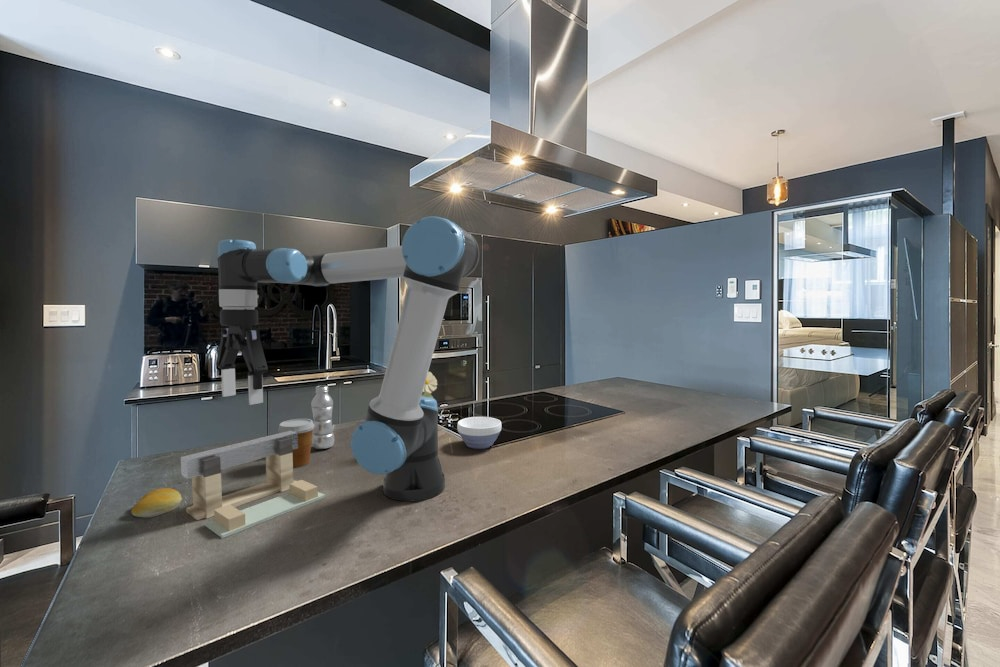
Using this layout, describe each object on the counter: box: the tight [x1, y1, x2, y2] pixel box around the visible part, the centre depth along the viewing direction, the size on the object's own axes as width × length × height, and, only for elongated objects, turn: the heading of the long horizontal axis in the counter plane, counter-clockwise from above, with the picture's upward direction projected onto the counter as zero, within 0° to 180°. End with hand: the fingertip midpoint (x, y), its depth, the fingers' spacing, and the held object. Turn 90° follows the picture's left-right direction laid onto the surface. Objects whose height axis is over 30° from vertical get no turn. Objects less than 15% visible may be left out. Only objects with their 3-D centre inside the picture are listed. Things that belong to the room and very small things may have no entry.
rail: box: [180, 431, 298, 480], centre depth 100 cm, size 4×24×4 cm, turn 145°
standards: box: [186, 433, 297, 521], centre depth 100 cm, size 7×22×12 cm, turn 145°
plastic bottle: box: [310, 384, 335, 450], centre depth 135 cm, size 6×7×20 cm
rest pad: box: [205, 479, 326, 539], centre depth 94 cm, size 8×22×3 cm, turn 145°
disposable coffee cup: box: [277, 418, 314, 468], centre depth 122 cm, size 10×10×12 cm
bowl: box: [456, 416, 502, 450], centre depth 139 cm, size 14×14×8 cm
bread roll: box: [131, 487, 183, 519], centre depth 95 cm, size 8×9×4 cm
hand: (242, 399), depth 99 cm, fingers open, 13 cm apart
